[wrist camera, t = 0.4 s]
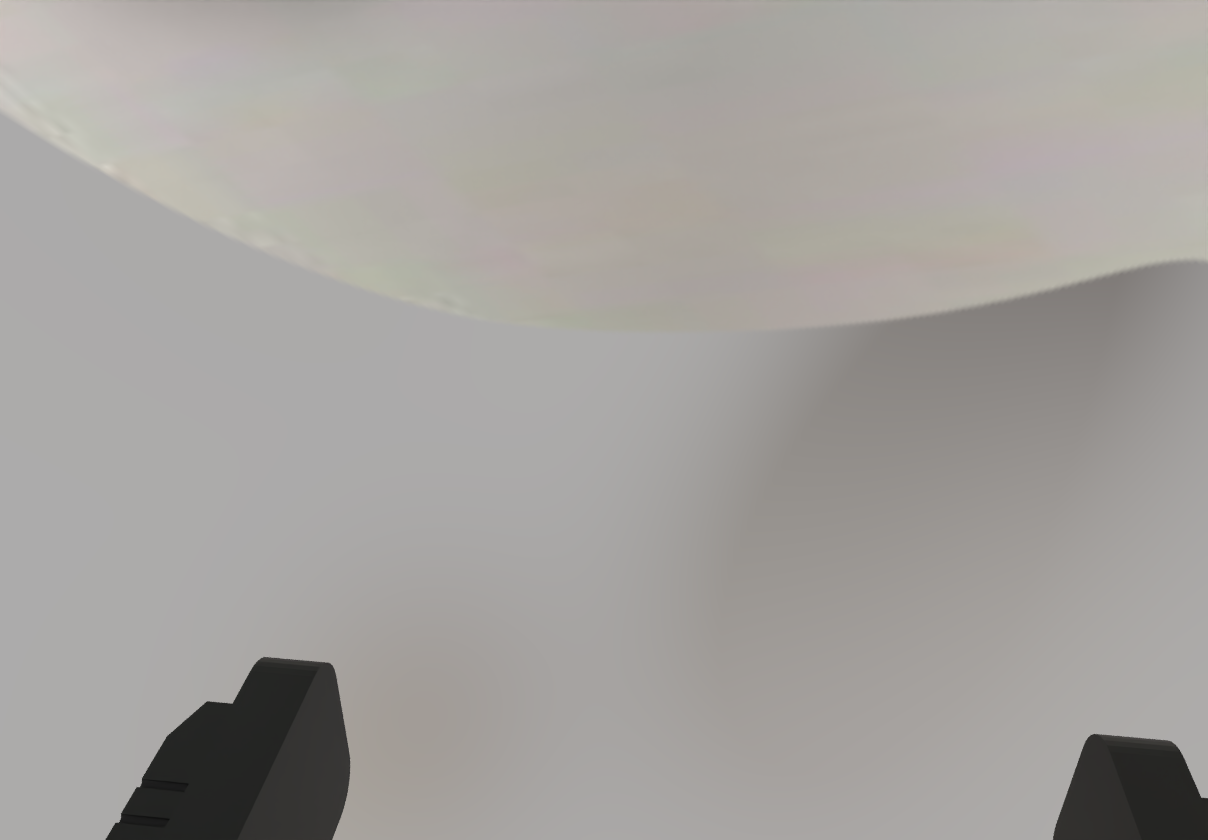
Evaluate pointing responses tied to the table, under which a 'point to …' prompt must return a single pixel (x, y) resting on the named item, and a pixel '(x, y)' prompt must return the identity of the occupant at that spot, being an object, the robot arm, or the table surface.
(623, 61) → the table surface
